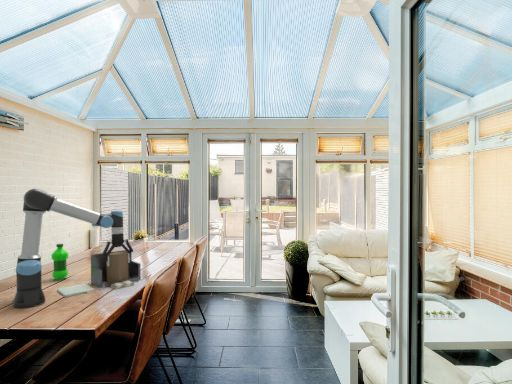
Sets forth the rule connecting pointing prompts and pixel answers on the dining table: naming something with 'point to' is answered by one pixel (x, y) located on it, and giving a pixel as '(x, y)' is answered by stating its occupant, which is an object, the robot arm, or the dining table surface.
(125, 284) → the cream offcut
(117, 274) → the wooden block
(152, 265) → the dining table surface
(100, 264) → the rack
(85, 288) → the sage mat
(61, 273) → the plastic bottle
